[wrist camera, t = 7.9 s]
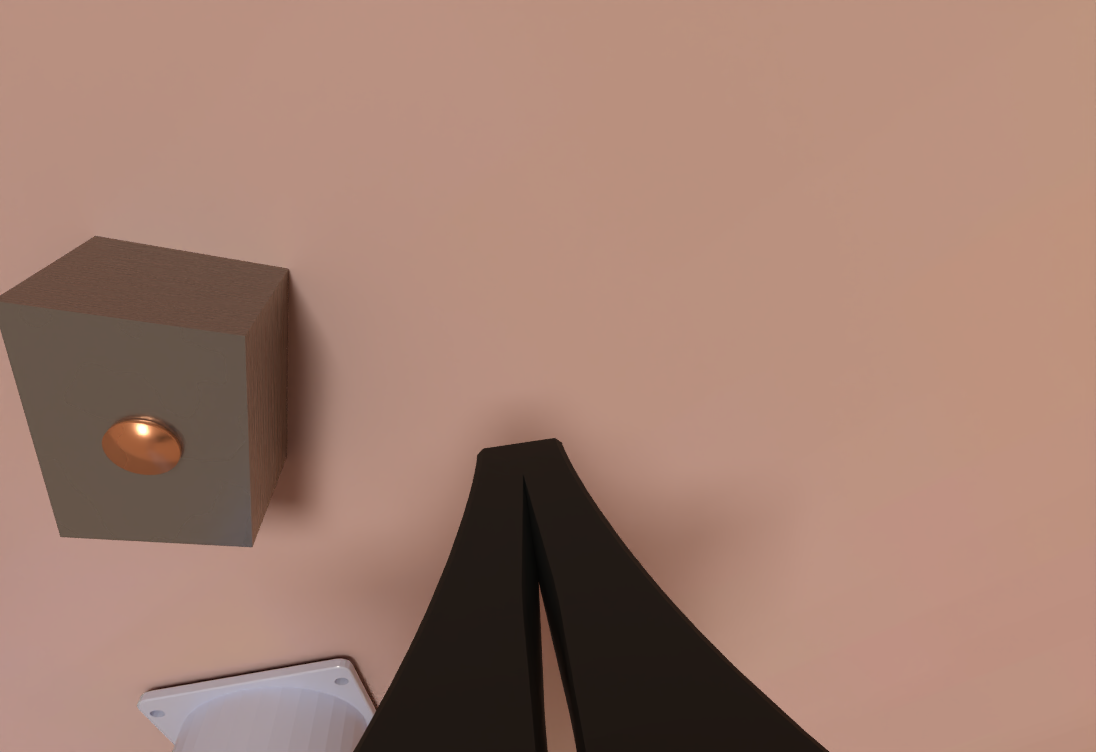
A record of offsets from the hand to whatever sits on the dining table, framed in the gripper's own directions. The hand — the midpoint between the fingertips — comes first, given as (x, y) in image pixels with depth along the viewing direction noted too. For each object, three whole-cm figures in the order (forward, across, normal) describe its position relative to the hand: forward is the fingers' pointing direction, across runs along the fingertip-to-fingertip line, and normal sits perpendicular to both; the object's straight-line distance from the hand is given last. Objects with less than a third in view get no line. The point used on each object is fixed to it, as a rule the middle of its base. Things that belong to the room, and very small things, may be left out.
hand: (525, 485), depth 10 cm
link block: (+6, +8, 0) cm, 10 cm away
